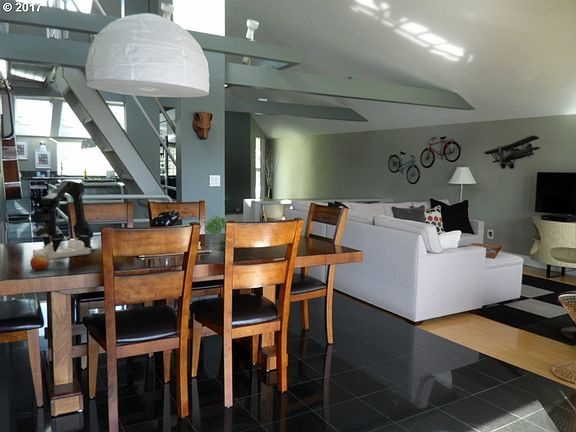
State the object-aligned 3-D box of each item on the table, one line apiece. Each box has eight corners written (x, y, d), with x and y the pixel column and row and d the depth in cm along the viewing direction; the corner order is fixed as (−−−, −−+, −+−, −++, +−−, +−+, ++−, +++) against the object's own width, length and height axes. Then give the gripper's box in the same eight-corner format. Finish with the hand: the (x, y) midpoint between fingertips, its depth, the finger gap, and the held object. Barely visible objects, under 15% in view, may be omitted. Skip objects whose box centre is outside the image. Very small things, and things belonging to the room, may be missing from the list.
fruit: (31, 265, 216) (39, 250, 216) (46, 273, 217) (54, 259, 217) (22, 268, 208) (31, 253, 208) (38, 277, 209) (47, 262, 209)
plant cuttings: (227, 248, 319) (201, 229, 317) (242, 229, 318) (217, 210, 316) (222, 258, 284) (193, 236, 282) (238, 237, 283) (210, 215, 281)
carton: (76, 250, 265) (76, 237, 264) (90, 253, 255) (90, 240, 254) (33, 255, 246) (32, 241, 246) (46, 259, 236) (45, 245, 235)
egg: (53, 255, 246) (53, 242, 245) (57, 256, 242) (57, 243, 242) (43, 256, 242) (43, 243, 241) (48, 257, 239) (47, 244, 238)
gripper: (26, 220, 240) (27, 250, 241) (41, 224, 228) (42, 254, 230) (48, 219, 249) (49, 247, 250) (64, 222, 237) (65, 252, 238)
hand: (51, 250), depth 242 cm, fingers open, 9 cm apart
